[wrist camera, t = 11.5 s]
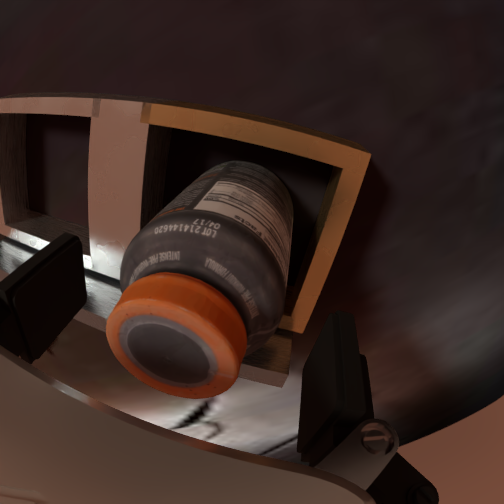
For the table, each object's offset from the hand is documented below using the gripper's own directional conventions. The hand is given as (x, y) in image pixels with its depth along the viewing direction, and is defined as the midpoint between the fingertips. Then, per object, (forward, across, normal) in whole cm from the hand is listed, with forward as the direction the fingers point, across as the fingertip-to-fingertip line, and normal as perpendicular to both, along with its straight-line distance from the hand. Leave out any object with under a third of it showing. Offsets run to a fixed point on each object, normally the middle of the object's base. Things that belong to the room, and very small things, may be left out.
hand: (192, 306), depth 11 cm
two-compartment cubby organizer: (+8, +6, -1) cm, 11 cm away
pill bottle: (+9, 0, 0) cm, 9 cm away
